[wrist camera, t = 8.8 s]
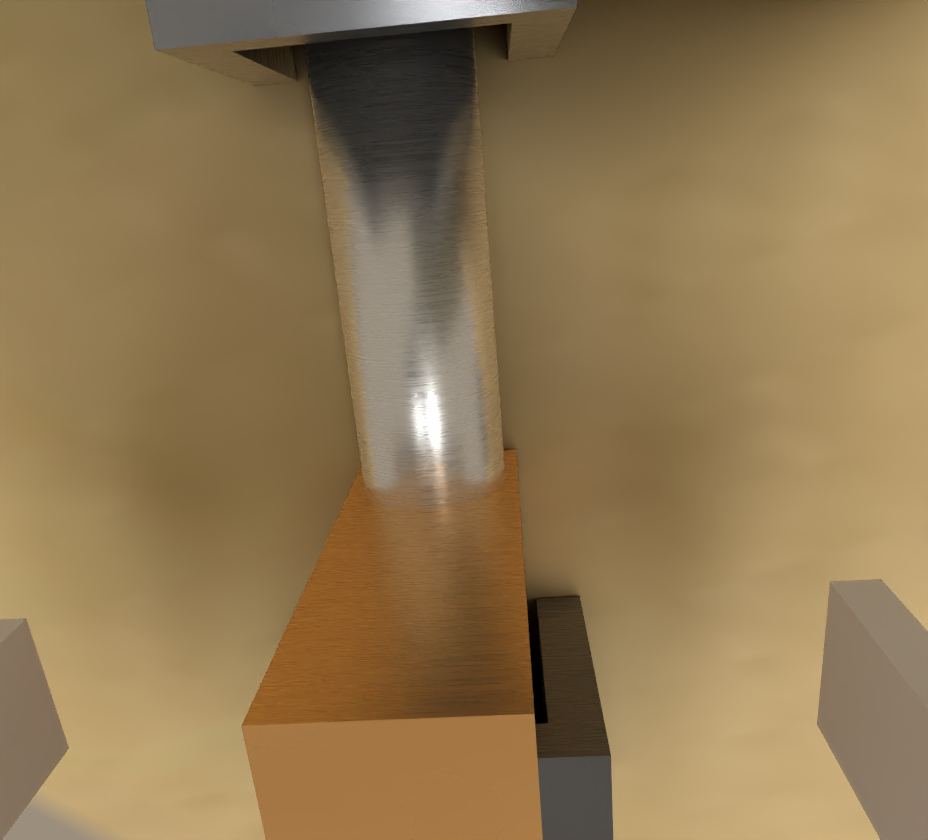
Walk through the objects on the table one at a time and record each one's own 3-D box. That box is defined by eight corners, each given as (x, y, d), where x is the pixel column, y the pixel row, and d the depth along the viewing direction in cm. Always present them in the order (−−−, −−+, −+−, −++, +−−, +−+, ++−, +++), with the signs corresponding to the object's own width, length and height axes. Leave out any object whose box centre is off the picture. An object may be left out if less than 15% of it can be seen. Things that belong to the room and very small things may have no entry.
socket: (333, 608, 21) (273, 768, 16) (579, 595, 21) (610, 755, 15) (362, 789, 23) (318, 988, 18) (587, 781, 23) (616, 983, 17)
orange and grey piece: (310, 53, 17) (62, -106, 7) (488, 35, 16) (476, -154, 7) (403, 741, 23) (334, 1157, 13) (535, 736, 22) (564, 1157, 13)
